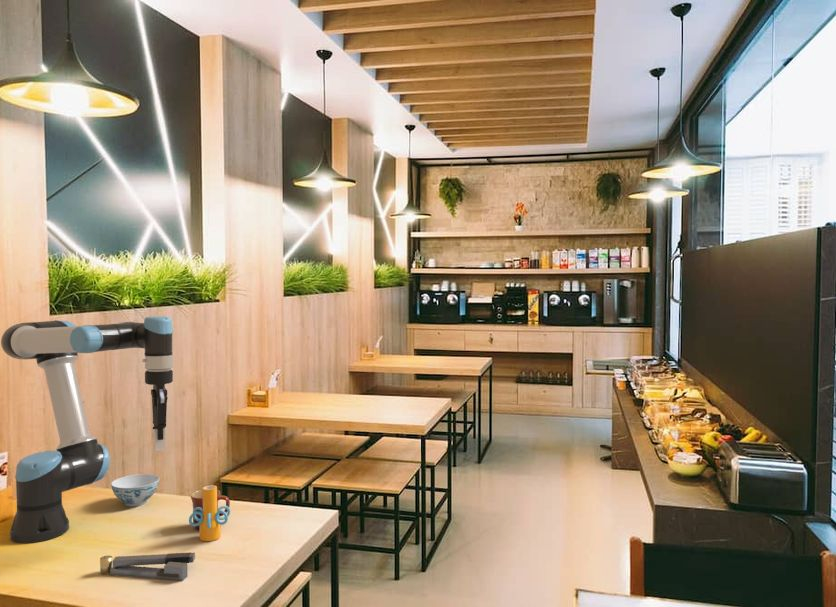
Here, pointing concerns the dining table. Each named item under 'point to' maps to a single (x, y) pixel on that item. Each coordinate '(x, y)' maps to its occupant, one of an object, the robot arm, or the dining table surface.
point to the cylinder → (209, 515)
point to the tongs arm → (153, 559)
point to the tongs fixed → (145, 570)
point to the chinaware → (135, 488)
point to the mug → (198, 502)
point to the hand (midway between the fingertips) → (159, 449)
